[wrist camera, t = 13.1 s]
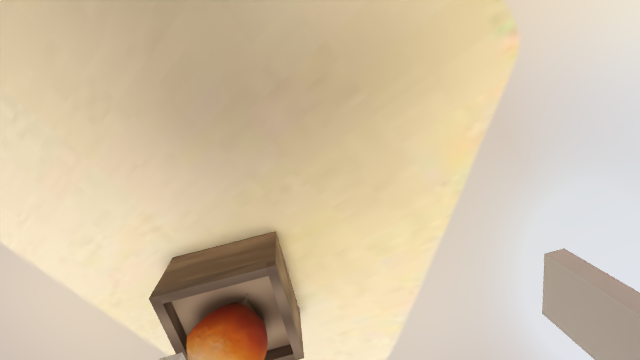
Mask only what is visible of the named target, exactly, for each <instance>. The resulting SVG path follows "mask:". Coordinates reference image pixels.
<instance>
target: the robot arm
mask: <svg viewBox="0 0 640 360" xmlns="http://www.w3.org/2000/svg"><path fill="white" fill-rule="evenodd" d="M542 314H543V315H545V316H546V317H547V318H548V319H549V320H550V321H551V322H553V323H554V324H555V325H556V326H557V327H559V329H561V330H562V331H563V332H564V333H565V334H566V335H567V336H569V337H570V338H571V339H572V340H573V341H574V342H575V343H576V344H578V345H579V346H580V347H581V348H582V349H583V350H585V351H586V352H587V353H588V354H589V355H590V356H591V357H592V358H594V359H595V360H640V293H639V292H637V291H636V290H634V289H632V288H631V287H629V286H627V285H626V284H624V283H622V282H620V281H619V280H617V279H615V278H614V277H612V276H610V275H609V274H607V273H605V272H603V271H602V270H600V269H598V268H597V267H595V266H593V265H591V264H590V263H588V262H586V261H585V260H583V259H581V258H579V257H578V256H576V255H574V254H573V253H571V252H569V251H568V250H566V249H561V250H557V251H553V252H550V253H546V254H545V256H544V282H543V309H542ZM159 360H186V359H185V357H184V355H183V353H179V354H175V355H171V356H168V357H164V358H160V359H159Z"/></svg>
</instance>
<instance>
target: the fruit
mask: <svg viewBox="0 0 640 360" xmlns="http://www.w3.org/2000/svg"><path fill="white" fill-rule="evenodd" d="M248 295H249V294H248V293H247V295H246V297H245V299H244V301H243V302H240V303H238V302H234V303H230V304H227V305H224V306H221V307H219V308H217V309H216V310H214V311H213V312H211V313H210V314H208V315H207V316H206V317H205V318H203V319H202V320H201V321H200V322H199V323H198V324H197V325H196V326H195V327H194V328H193V329H192V331H191V332H190V333H189V334H188V336H187V344H186V348H187V349H186V350H187V357H188V360H264V359H265V356H266V352H267V346H268V338H267V331H266V325H265V321H264V320H265V319H263V320H262V319H261V318H260V317H259V316H258V315H257V314H256V313H255V311H254V310H253V309H252V307H251V306H250V304H249V302H248V300H247V298H248Z"/></svg>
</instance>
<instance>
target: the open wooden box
mask: <svg viewBox="0 0 640 360" xmlns="http://www.w3.org/2000/svg"><path fill="white" fill-rule="evenodd" d="M247 293H248V294H249V295H248V298H247V300H248V302H249V304H250V306H251V307H252V309H253V310H254V311H255V313H256V314H257V315H258V316H259V317H260V318H261V319H262V320H263V319H265V320H264V321H265V325H266V331H267V338H268V346H267V352H266V356H265V359H264V360H299V359H302V358H304V353H303V342H302V331H301V321H300V312H299V308H298V305H297V301H296V298H295V295H294V291H293V288H292V284H291V281H290V278H289V274H288V271H287V268H286V264H285V261H284V257H283V254H282V251H281V247H280V244H279V240H278V237H277V234H276V232H272V233H268V234H264V235H261V236H257V237H253V238H249V239H245V240H241V241H237V242H233V243H229V244H225V245H221V246H217V247H213V248H209V249H206V250H202V251H198V252H194V253H190V254H186V255H182V256H178V257H174V258H173V259H172V260H171V262H170V264H169V265H168V267H167V269H166V270H165V272H164V274H163V276H162V277H161V279H160V281H159V282H158V284H157V286H156V287H155V289H154V291H153V292H152V294H151V296H150V297H149V300H150V302H151V304H152V306H153V308H154V310H155V312H156V314H157V316H158V318H159V320H160V322H161V324H162V326H163V328H164V330H165V332H166V334H167V336H168V338H169V340H170V342H171V344H172V346H173V348H174V350H175V353H176V354H179V353H183V355H184V357H185V359H186V360H188V357H187V350H186V349H187V348H186V344H187V336H188V334H189V333H190V332H191V331H192V329H193V328H194V327H195V326H196V325H197V324H198V323H199V322H200V321H201V320H202V319H203V318H205V317H206V316H207V315H208V314H210V313H211V312H213V311H214V310H216V309H217V308H219V307H221V306H224V305H227V304H230V303H234V302H238V303H240V302H243V301H244V299H245V297H246V295H247Z"/></svg>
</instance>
